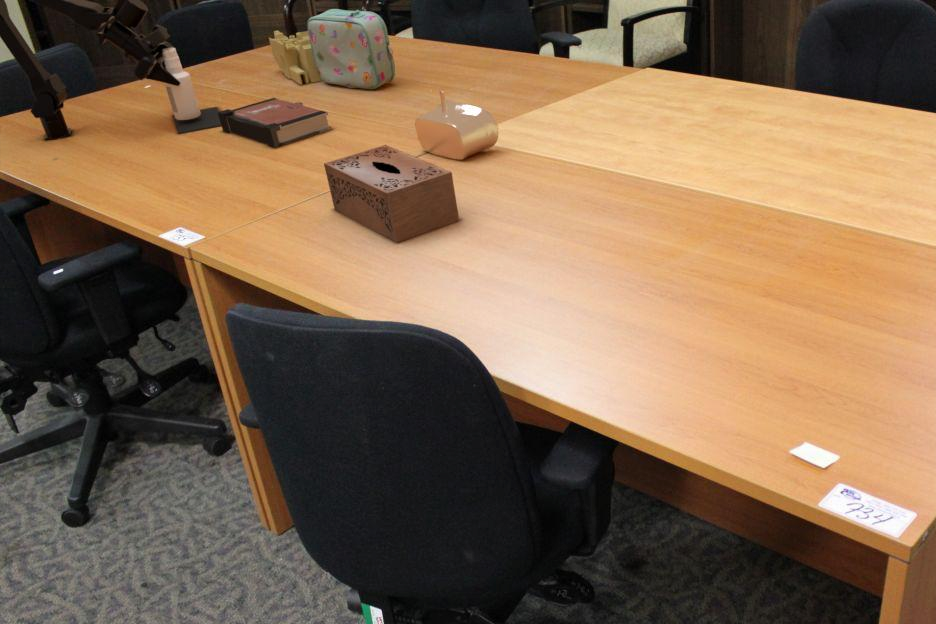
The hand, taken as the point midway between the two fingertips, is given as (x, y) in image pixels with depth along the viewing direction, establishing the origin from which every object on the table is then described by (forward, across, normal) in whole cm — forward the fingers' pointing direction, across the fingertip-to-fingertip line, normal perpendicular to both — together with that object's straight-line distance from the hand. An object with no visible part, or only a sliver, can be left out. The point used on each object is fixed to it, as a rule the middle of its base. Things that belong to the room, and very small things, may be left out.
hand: (183, 80), depth 261 cm
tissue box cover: (+52, -84, -38) cm, 106 cm away
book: (+26, -16, -11) cm, 32 cm away
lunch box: (+38, +23, -23) cm, 50 cm away
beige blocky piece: (+27, +43, -11) cm, 52 cm away
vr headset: (+61, -47, -46) cm, 89 cm away
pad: (+8, +1, +7) cm, 11 cm away
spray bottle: (+6, 0, +8) cm, 10 cm away
